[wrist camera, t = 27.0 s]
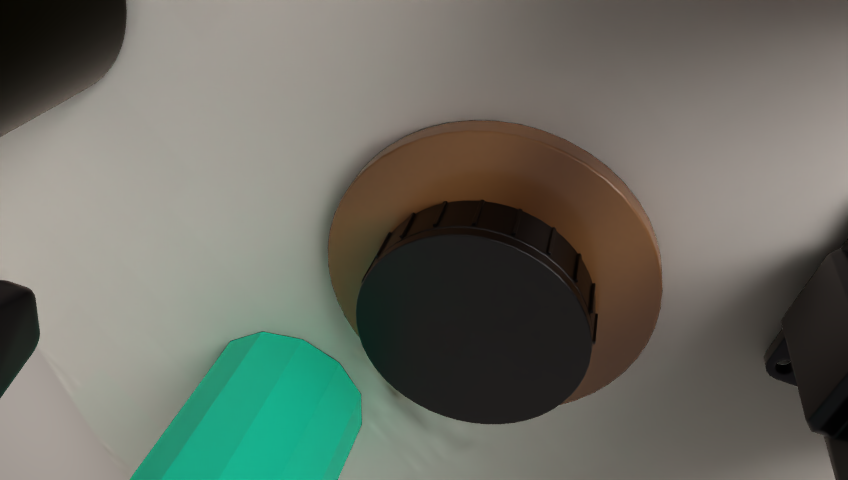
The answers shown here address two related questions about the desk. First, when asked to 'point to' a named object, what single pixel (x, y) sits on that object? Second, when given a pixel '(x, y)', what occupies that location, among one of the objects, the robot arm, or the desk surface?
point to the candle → (262, 417)
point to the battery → (54, 52)
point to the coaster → (519, 188)
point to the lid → (478, 313)
